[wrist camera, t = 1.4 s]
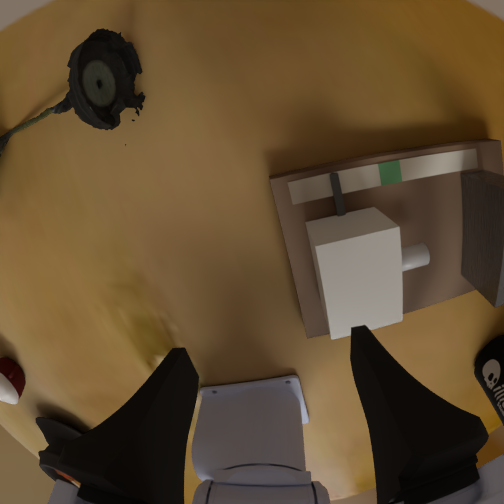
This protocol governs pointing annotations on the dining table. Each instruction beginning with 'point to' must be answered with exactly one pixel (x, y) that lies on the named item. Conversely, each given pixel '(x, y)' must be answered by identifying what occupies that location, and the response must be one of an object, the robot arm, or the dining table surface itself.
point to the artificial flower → (97, 83)
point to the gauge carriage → (360, 266)
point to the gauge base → (387, 214)
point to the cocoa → (10, 381)
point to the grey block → (483, 233)
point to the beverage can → (492, 373)
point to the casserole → (55, 447)
